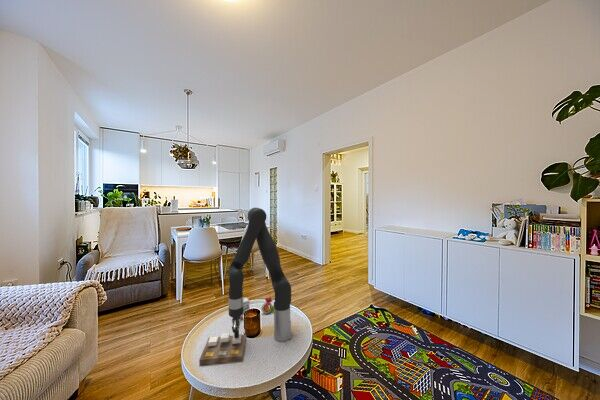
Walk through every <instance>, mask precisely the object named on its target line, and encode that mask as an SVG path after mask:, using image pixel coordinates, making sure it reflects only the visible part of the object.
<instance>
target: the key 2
mask: <svg viewBox="0 0 600 400" xmlns="http://www.w3.org/2000/svg"><path fill="white" fill-rule="evenodd" d="M241 335H242V334H240V333H239V338H234V335H232V336H233V340H232V342H233V344H236V343H241V338H242V337H241Z"/></svg>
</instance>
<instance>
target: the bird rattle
mask: <svg viewBox="0 0 600 400" xmlns="http://www.w3.org/2000/svg"><path fill="white" fill-rule="evenodd" d="M273 301H274V300H273V299H272V297H271V296H270V297H266V298H265V302H264V303H263V304H262V306H261V311H262V312H263V314H264V315H267V314H270V313H271V314H274V304H272V302H273Z"/></svg>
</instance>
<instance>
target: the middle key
mask: <svg viewBox="0 0 600 400" xmlns="http://www.w3.org/2000/svg"><path fill="white" fill-rule="evenodd" d="M230 336H231V333H230V332H224V333H221V336H220V337H221V338H220V342H228V341H229V338H230Z"/></svg>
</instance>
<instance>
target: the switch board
mask: <svg viewBox="0 0 600 400" xmlns="http://www.w3.org/2000/svg"><path fill="white" fill-rule="evenodd" d="M233 336H234V335H230V338H229V341H228V342H220V338H221V336H217V337H218V342H217V345H216V346H208V342H209V339H210V337H208V338H207V340H206V343H205V345H204V348H203V350H202V353H201V355H200V357H199V360H198V363H199V367H202V366H203V367H205V366H211V365H212V366H215V365H223V364H225V365H226V364H232V363H243V361H244V357H245V356H244V355H245V349H246V343H247V334H241V337H242V338H241V343H236V344H233V342H232V340H233Z"/></svg>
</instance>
